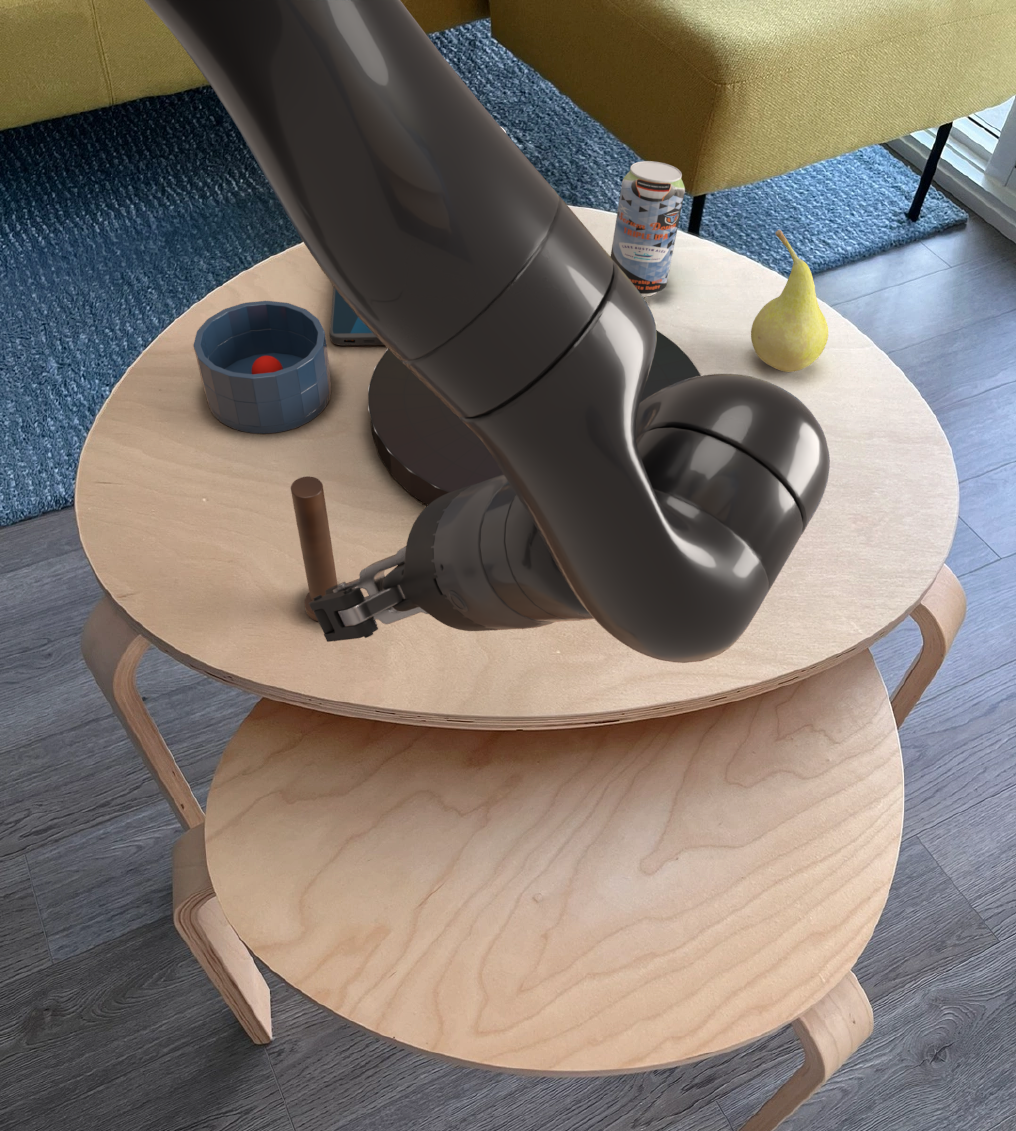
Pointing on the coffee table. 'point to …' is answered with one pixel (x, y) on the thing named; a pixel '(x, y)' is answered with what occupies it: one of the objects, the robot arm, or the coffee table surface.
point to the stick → (314, 537)
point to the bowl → (267, 396)
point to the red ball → (266, 365)
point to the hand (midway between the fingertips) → (394, 575)
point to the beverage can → (648, 224)
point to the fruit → (791, 322)
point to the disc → (458, 425)
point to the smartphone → (348, 325)
